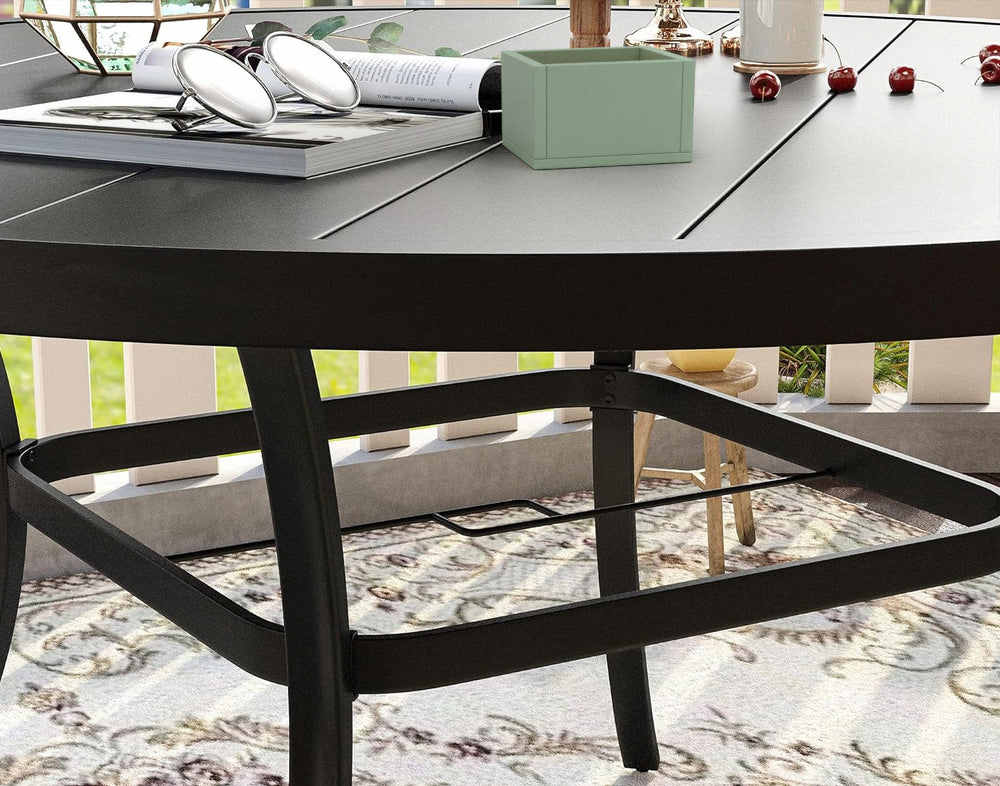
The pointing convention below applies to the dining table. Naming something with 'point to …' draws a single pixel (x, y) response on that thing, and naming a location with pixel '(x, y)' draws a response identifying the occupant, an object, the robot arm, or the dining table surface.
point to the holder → (597, 106)
